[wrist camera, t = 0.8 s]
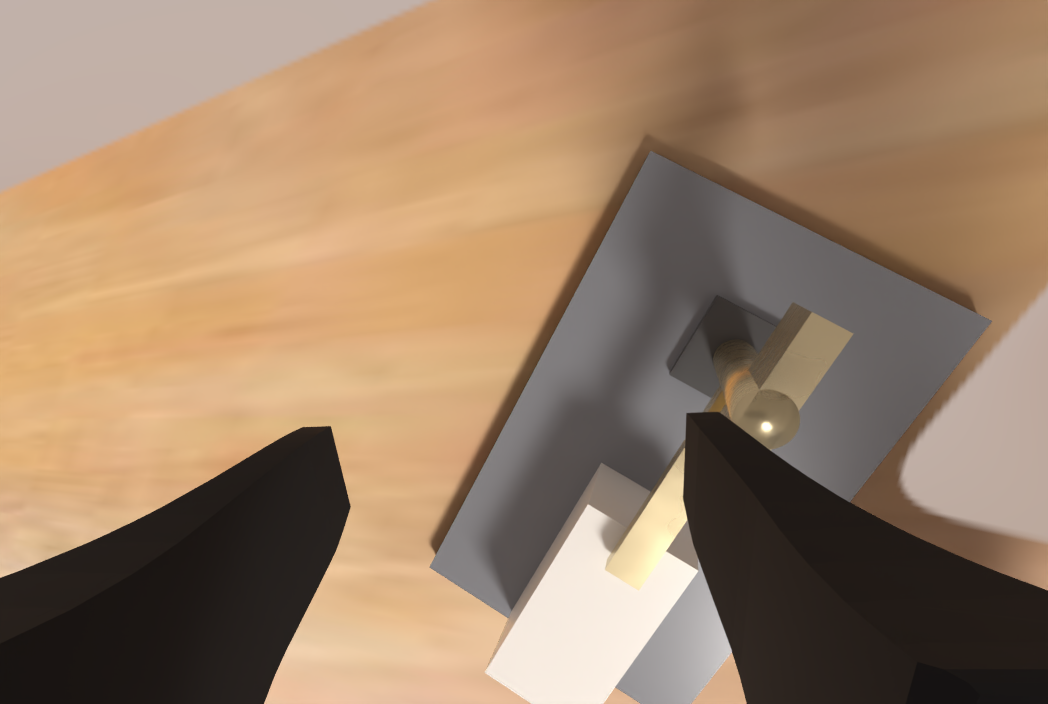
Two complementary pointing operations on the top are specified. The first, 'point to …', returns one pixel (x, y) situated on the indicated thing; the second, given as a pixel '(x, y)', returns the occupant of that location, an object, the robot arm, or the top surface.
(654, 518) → the t key
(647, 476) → the plate
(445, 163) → the top surface
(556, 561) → the cover
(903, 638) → the robot arm
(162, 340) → the top surface
